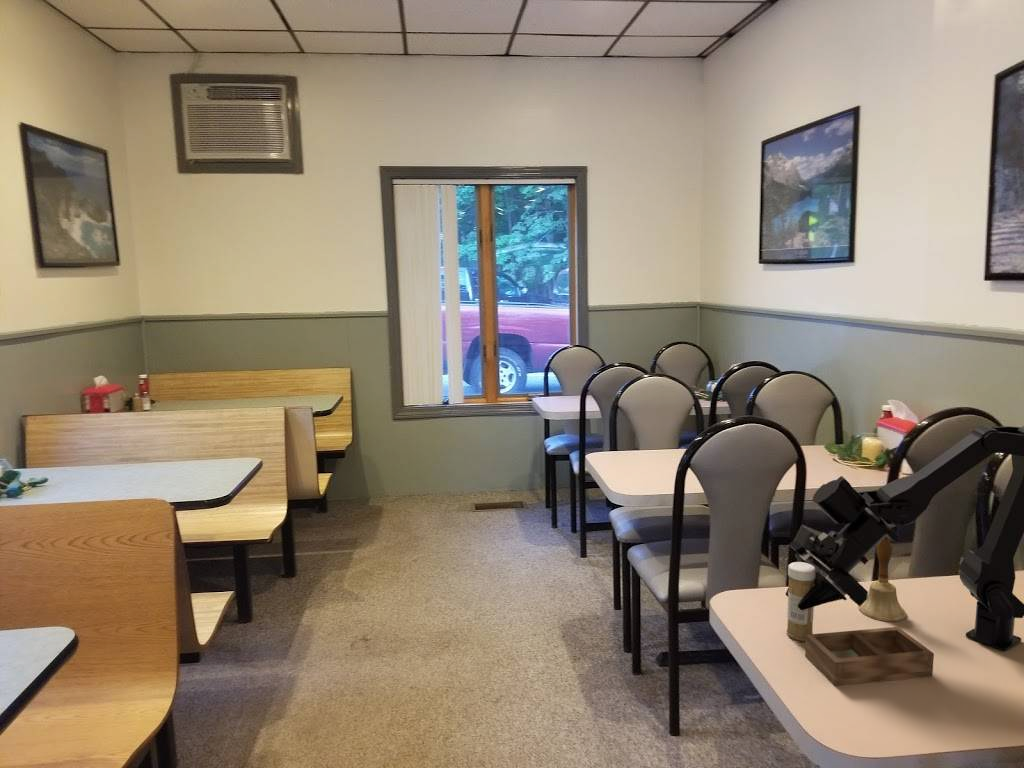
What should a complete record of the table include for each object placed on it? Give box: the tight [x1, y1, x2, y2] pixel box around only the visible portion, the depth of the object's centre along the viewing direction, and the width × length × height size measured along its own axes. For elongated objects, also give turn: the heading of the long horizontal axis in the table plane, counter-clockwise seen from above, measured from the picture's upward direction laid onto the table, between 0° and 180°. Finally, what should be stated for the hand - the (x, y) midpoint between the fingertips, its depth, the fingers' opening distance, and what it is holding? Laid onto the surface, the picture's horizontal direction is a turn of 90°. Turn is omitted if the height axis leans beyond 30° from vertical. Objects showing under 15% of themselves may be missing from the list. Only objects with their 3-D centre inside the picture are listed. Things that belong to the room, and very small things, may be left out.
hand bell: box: [857, 536, 907, 623], centre depth 137 cm, size 8×8×16 cm
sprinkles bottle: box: [786, 561, 816, 642], centre depth 129 cm, size 5×5×14 cm
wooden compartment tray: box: [804, 626, 935, 687], centre depth 120 cm, size 17×9×4 cm, turn 97°
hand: (793, 602), depth 129 cm, fingers closed on sprinkles bottle, 4 cm apart
